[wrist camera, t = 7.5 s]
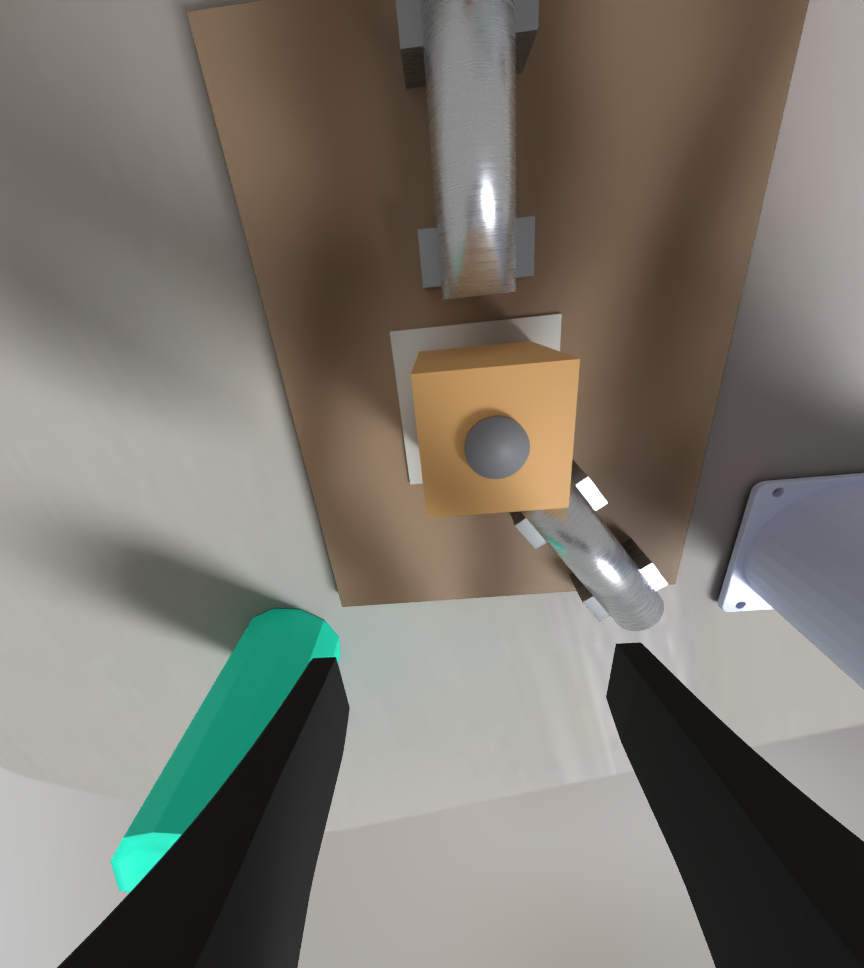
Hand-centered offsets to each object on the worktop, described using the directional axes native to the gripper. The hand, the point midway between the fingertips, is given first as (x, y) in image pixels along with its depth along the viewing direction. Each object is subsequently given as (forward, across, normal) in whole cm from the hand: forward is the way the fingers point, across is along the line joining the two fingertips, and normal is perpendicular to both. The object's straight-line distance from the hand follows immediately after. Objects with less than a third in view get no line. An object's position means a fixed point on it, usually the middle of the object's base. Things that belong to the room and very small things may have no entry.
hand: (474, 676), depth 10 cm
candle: (+10, +11, +9) cm, 17 cm away
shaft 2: (+10, -6, +2) cm, 12 cm away
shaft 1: (+10, -1, -13) cm, 16 cm away
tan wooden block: (+9, -1, -5) cm, 10 cm away
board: (+10, -2, -6) cm, 12 cm away
